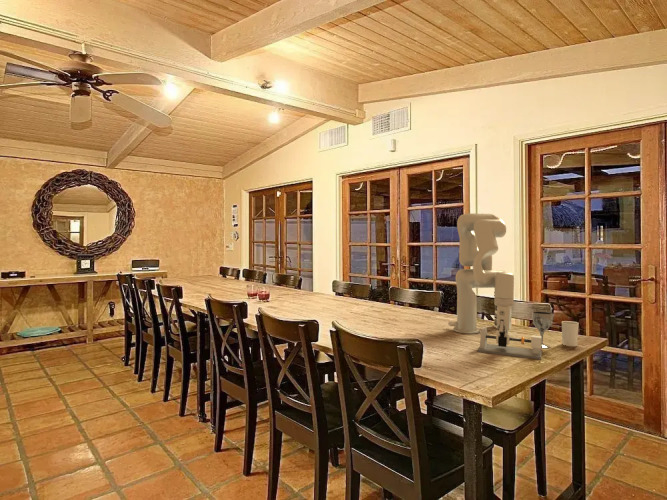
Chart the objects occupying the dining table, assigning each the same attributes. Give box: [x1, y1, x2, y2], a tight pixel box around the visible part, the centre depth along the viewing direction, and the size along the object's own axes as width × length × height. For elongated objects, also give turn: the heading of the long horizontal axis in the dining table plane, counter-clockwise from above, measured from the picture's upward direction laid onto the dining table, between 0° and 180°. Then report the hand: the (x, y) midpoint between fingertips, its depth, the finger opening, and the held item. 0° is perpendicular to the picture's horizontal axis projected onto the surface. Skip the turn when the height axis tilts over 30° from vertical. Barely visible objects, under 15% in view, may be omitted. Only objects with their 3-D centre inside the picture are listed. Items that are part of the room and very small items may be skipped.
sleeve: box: [495, 331, 511, 346], centre depth 183 cm, size 5×4×4 cm
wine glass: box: [531, 310, 553, 349], centre depth 191 cm, size 8×8×15 cm
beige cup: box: [561, 320, 579, 347], centre depth 194 cm, size 7×7×10 cm
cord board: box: [477, 326, 543, 360], centre depth 182 cm, size 24×12×9 cm, turn 63°
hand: (503, 344), depth 183 cm, fingers closed on sleeve, 4 cm apart
